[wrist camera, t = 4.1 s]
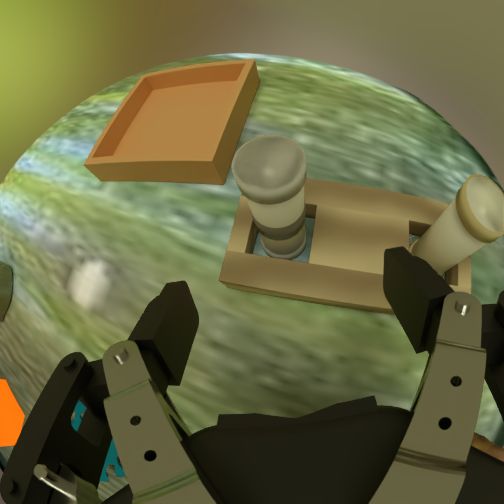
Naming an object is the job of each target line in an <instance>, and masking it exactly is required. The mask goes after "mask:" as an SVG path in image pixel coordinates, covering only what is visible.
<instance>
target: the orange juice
mask: <svg viewBox="0 0 504 504" xmlns="http://www.w3.org/2000/svg"><path fill="white" fill-rule="evenodd" d="M24 417H25V415H24V414H23V412H22V410H21V409H20V407H19V405H18V403H17V402H16V400H15V398H14V396H13V394H12V392H11V390H10V388H9V386H8V384H7V382H6V380H1V379H0V446H11V445H15V444H16V442H17V439H18V437H19V435H20V432H21V428H22V424H23V421H24Z"/></svg>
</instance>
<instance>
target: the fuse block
mask: <svg viewBox="0 0 504 504" xmlns="http://www.w3.org/2000/svg"><path fill="white" fill-rule="evenodd" d="M304 198H305V217H310V218H315V225H314V231H313V238H312V245H311V251H310V257H309V263H305V262H298V261H292V260H286V259H279V258H273V257H266V256H260V255H254V254H252V253H253V249H254V245H255V241H256V236H257V232H258V229H257V227H256V225H255V223H254V220H253V217H252V215H251V212H250V208H249V205H248V203H247V200H246V198H245V196H244V195H243V194H241V198H240V202H239V205H238V209H237V213H236V216H235V220H234V224H233V227H232V231H231V235H230V239H229V242H228V246H227V250H226V254H225V258H224V262H223V265H222V269H221V273H220V277H219V281H220V282H221V283H223V284H224V285H225V286H226V287H229V288H234V289H239V290H244V291H249V292H254V293H260V294H265V295H271V296H276V297H282V298H288V299H293V300H299V301H305V302H311V303H317V304H324V305H330V306H336V307H343V308H350V309H357V310H364V311H371V312H378V313H386V314H393V315H395V313H394V311H393V309H392V308H391V306H390V304H389V303H388V301H387V299H386V297H385V295H384V290H383V269H384V252H385V250H386V249H389V248H394V247H400V246H404V247H405V248H406V249H407V250H408V251H409V234H413V235H419V236H422V235H423V234H424V233H425V232H426V231H427V230H428V229H429V228H430V227H431V225H432V224H433V223H434V222H435V221H436V220H437V219H438V218H439V216H440V215H441V214H442V213H443V212H444V211H445V210H446V208H447V207H448V206H449V205H450V204H446V203H442V202H438V201H433V200H429V199H425V198H420V197H416V196H411V195H406V194H401V193H396V192H391V191H386V190H381V189H375V188H370V187H364V186H358V185H351V184H345V183H338V182H331V181H324V180H316V179H308V178H306V181H305V184H304ZM445 281H446V282H447V283H448V284H449V285H450V287H451V288H452V289H453V290H454V291H455V292H466V293H469V294H471V258H470V256H468V257H467V258H465V259H464V260H462V261H461V262H459V263H458V264H456V265H455V266H453V267H452V268H450V269H448V270H447V271H445Z"/></svg>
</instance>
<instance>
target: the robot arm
mask: <svg viewBox="0 0 504 504" xmlns="http://www.w3.org/2000/svg"><path fill="white" fill-rule="evenodd" d="M12 286H13V277H12V271H11V268H10V266H9V265H7V264H5V263H3V262H1V261H0V321H3V317H4V314H5V313H6V311H7V309H8V306H9V303H10V299H11V294H12ZM383 290H384V295H385V297H386V299H387V301H388V303H389V304H390V306H391V308H392V309H393V311H394V313H395V315H396V316H397V318H398V320H399V322H400V324H401V325H402V327H403V329H404V331H405V333H406V335H407V336H408V338H409V340H410V342H411V344H412V346H413V348H414V350H415V352H416V354H417V353H421V352H424V351H428V353H429V357H428V360H427V363H426V366H425V370H424V373H423V376H422V379H421V382H420V385H419V388H418V390H417V393H416V396H415V399H414V401H413V403H412V406H411V408H410V410H409V411H408V410H406V409H402V408H399V407H393V406H383V405H379V406H377V403H376V400H375V396H370V397H365V398H361V399H357V400H352V401H347V402H342V403H337V404H334V405H332V406H330V407H327V408H324V409H322V410H319V411H317V412H314V413H311V414H308V415H306V416H303V417H299V418H287V417H278V416H271V415H263V414H257V413H254V414H219V416H218V422H217V425H215V426H211V427H208V428H205V429H202V430H200V431H197V432H196V433H194V434H192V433H191V432H190V431H189V429H188V428H187V426H186V424H185V423H184V421H183V419H182V418H181V416H180V414H179V412H178V411H177V409H176V407H175V405H174V403H173V402H172V400H171V398H170V396H169V394H168V393H167V392H166V390H167V387H168V385H172V386H180V383H181V380H182V376H183V373H184V370H185V367H186V363H187V360H188V357H189V354H190V351H191V347H192V344H193V341H194V338H195V335H196V332H197V329H198V325H199V316H198V311H197V309H196V306H195V303H194V301H193V298H192V295H191V293H190V290H189V287H188V285H187V283H186V282H185V281H177V282H170V283H166V285H165V286H164V288H163V290H162V291H161V293H160V295H159V296H157V297H155V298H154V299H153V300H152V301H151V302H150V303H149V304H148V306H147V307H146V309H145V311H144V313H143V314H142V316H141V317H140V320H139V321H138V322H137V324H136V326H135V328H134V329H133V331H132V333H131V335H130V336H129V338H128V340H125V341H121V342H118V343H116V344H114V345H112V346H111V347H110V348H108V350H107V351H106V352H105V353H104V355H103V359H100V360H96V361H92V362H88V360H87V359H86V357H85V356H84V355H83V354H82V353H80V352H74V353H71V354H69V355H67V356H66V357H64V358H63V359H62V360H61V361H60V362H59V364H58V366H57V367H56V369H55V370H54V372H53V374H52V375H51V377H50V379H49V380H48V382H47V384H46V386H45V387H44V389H43V391H42V393H41V394H40V396H39V398H38V400H37V402H36V403H35V405H34V407H33V409H32V411H31V413H30V415H29V417H28V419H27V421H26V423H25V425H24V427H23V429H22V431H21V433H20V435H19V437H18V439H17V442H16V444H15V446H14V448H13V451H12V453H11V455H10V458H9V460H8V462H7V465H6V467H5V470H4V473H3V476H2V478H1V482H0V493H1V496H2V498H3V500H4V502H5V503H6V504H504V462H503V461H501V460H499V459H497V458H495V457H493V456H491V455H489V454H487V453H485V452H483V451H481V450H479V449H477V448H476V447H474V446H472V445H471V443H472V439H473V435H474V431H475V427H476V423H477V418H478V413H479V408H480V403H481V397H482V391H483V384H484V379H485V381H486V383H487V385H488V387H489V389H490V391H491V393H492V395H493V398H494V400H495V402H496V404H497V407H498V409H499V411H500V414H501V416H502V419H503V421H504V291H502V292H501V293H500V295H499V298H498V301H497V304H483V305H481V303H480V301H479V300H478V299H477V298H476V297H475V296H473V295H472V294H469V293H466V292H455V291H454V290H453V289H452V288H451V287H450V285H449V284H448V283H447V282H446V281H445V280H444V279H443V278H442V277H441V276H440V275H438V273H437V272H436V271H435V269H433V267H432V266H431V265H430V264H429V263H428V262H427V261H425V260H423V259H421V258H419V257H417V256H413V255H412V254H411V253H410V252H409V251H408V250H407V249H406V248H405V247H404V246H400V247H394V248H389V249H386V250H385V252H384V269H383ZM78 400H80V402H81V403H82V404H83V405H84V406H85V407H86V408H87V409H86V411H85V413H84V416H83V418H82V420H81V423H80V425H79V428H78V430H77V431H76V430H75V429H74V428H73V427H72V424H71V416H72V413H73V411H74V409H75V407H76V405H77V402H78ZM112 438H113V440H114V443H115V447H116V450H117V453H118V456H119V459H120V461H121V464H122V467H123V470H124V472H125V475H126V478H127V480H128V483H129V484H128V485H126V486H125V487H123V488H122V489H121V490H119V491H118V492H116V493H115V494H114V495H112V496H111V497H109V498H108V499H106V500H105V501H103V500H102V499H100V498H99V495H98V491H97V488H98V485H99V481H100V477H101V474H102V470H103V467H104V464H105V460H106V457H107V454H108V450H109V447H110V444H111V441H112Z"/></svg>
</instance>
